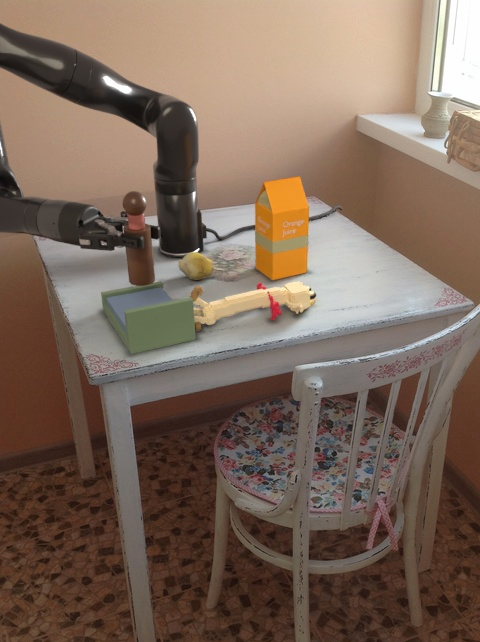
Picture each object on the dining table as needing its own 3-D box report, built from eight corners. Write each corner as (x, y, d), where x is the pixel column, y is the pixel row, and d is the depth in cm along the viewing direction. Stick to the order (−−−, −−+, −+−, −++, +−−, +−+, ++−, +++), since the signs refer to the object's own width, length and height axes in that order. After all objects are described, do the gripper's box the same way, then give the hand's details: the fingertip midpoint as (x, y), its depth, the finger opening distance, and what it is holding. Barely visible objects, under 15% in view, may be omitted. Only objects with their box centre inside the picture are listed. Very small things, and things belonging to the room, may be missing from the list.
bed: (162, 299, 140) (159, 262, 136) (195, 339, 126) (193, 299, 122) (103, 311, 135) (97, 272, 131) (131, 354, 122) (125, 313, 117)
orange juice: (307, 272, 152) (310, 180, 141) (272, 280, 148) (272, 187, 137) (289, 260, 158) (290, 171, 147) (254, 267, 154) (253, 176, 143)
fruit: (228, 280, 148) (182, 281, 144) (218, 277, 153) (174, 278, 149) (228, 252, 147) (182, 252, 143) (218, 251, 152) (174, 251, 148)
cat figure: (200, 343, 128) (326, 312, 134) (194, 300, 123) (324, 271, 129) (187, 319, 135) (306, 291, 142) (180, 278, 130) (304, 251, 137)
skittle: (150, 273, 128) (142, 186, 120) (158, 283, 125) (151, 194, 116) (125, 277, 127) (116, 189, 118) (133, 287, 123) (123, 197, 114)
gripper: (40, 214, 118) (125, 230, 113) (91, 191, 129) (171, 204, 124) (47, 256, 122) (130, 273, 117) (96, 230, 133) (174, 244, 128)
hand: (151, 238), depth 120 cm, fingers closed on skittle, 4 cm apart
